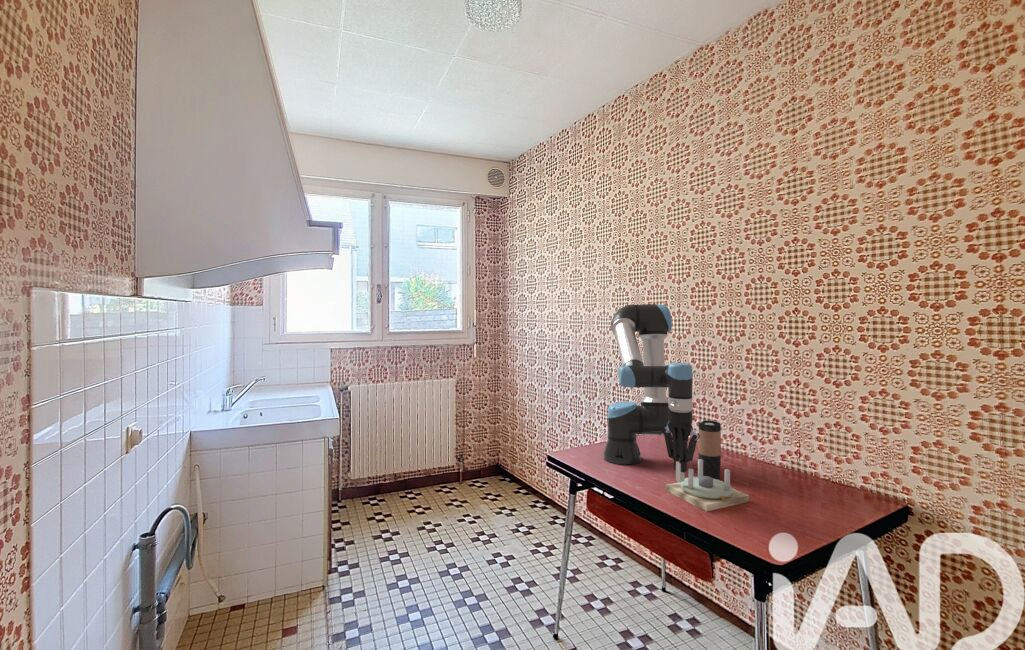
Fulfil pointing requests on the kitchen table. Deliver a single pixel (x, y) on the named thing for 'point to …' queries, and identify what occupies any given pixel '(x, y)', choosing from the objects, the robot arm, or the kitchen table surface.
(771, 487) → the kitchen table surface
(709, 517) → the kitchen table surface
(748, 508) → the kitchen table surface
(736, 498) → the stand base
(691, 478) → the green peg holder
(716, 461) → the travel mug
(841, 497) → the kitchen table surface
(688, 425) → the robot arm
